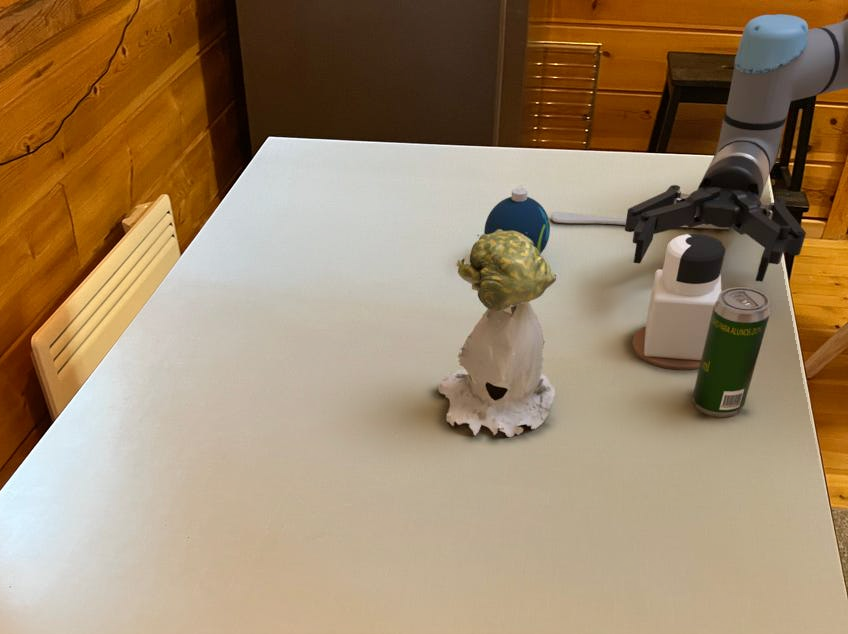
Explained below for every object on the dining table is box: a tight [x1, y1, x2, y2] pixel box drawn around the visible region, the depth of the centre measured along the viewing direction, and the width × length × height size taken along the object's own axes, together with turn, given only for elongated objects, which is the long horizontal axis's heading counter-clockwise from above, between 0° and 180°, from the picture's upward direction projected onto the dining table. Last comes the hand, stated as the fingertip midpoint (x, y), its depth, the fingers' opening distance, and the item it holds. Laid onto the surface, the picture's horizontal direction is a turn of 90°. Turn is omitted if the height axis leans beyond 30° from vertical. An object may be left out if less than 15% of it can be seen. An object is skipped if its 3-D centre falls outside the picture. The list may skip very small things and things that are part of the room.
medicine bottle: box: [644, 233, 727, 361], centre depth 106 cm, size 7×7×12 cm
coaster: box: [631, 326, 701, 371], centre depth 111 cm, size 10×10×1 cm
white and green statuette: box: [438, 229, 557, 438], centre depth 98 cm, size 12×13×18 cm
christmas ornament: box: [483, 184, 551, 255], centre depth 123 cm, size 8×8×10 cm
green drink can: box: [692, 286, 772, 418], centre depth 98 cm, size 5×5×12 cm
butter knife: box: [550, 211, 730, 230], centre depth 133 cm, size 1×24×3 cm
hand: (699, 260), depth 108 cm, fingers open, 13 cm apart
